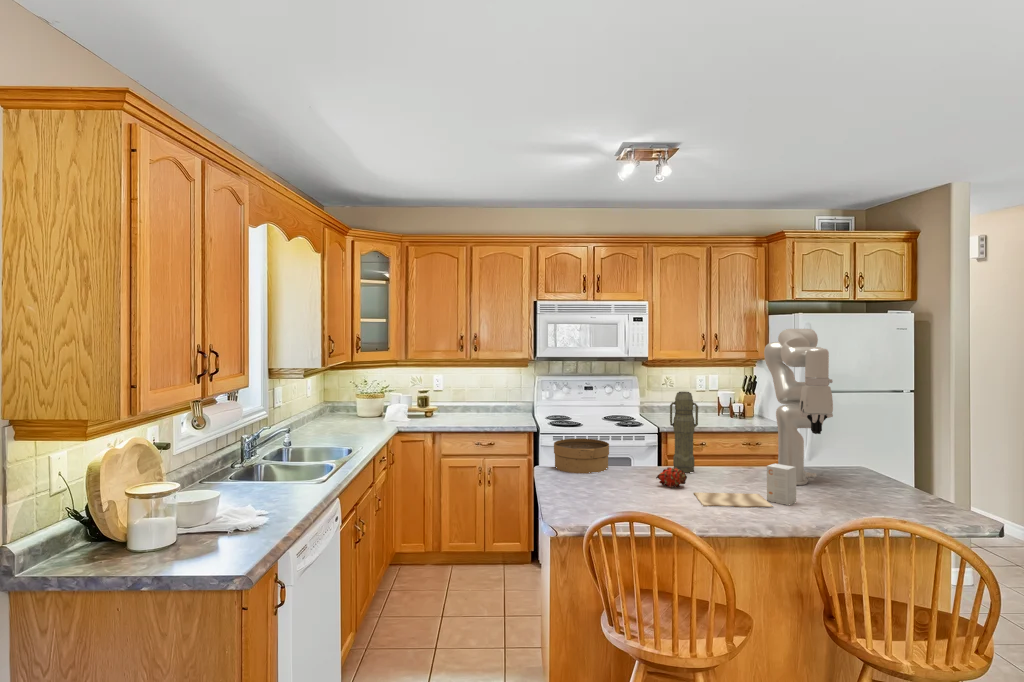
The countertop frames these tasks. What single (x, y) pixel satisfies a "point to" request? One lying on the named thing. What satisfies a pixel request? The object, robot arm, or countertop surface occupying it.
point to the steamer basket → (581, 455)
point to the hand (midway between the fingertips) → (816, 433)
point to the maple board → (732, 499)
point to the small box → (781, 484)
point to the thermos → (684, 431)
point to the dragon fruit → (672, 477)
